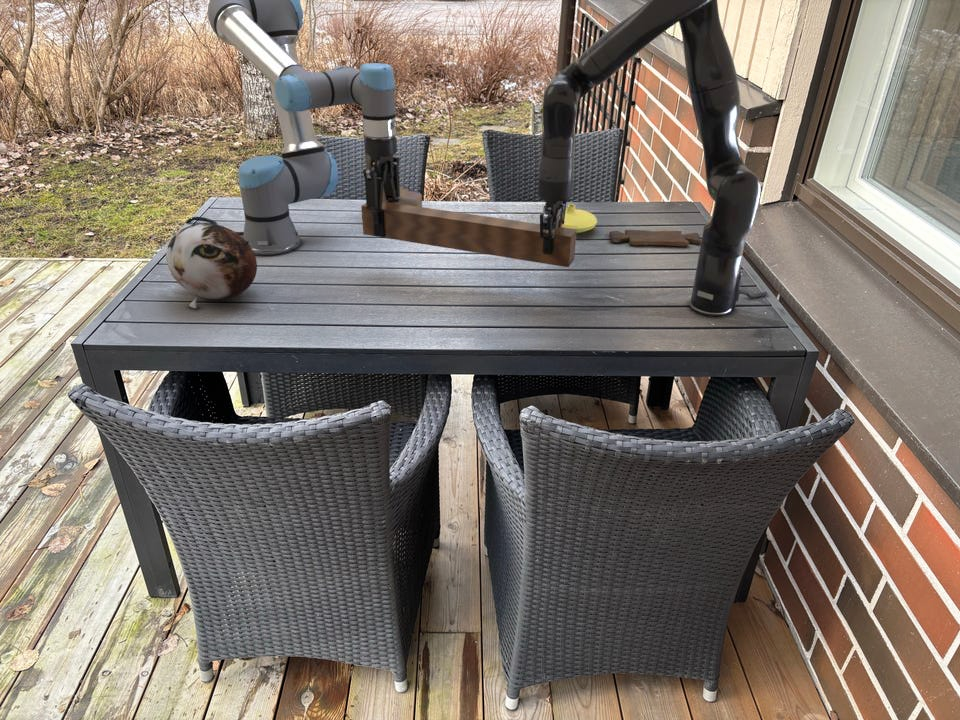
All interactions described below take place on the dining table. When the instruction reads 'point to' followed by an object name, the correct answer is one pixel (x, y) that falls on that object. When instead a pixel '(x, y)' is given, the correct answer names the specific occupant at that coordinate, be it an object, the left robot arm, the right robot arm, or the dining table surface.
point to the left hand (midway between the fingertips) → (385, 231)
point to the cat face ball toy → (211, 261)
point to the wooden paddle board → (654, 237)
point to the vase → (579, 219)
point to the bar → (472, 233)
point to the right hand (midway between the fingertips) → (551, 248)
